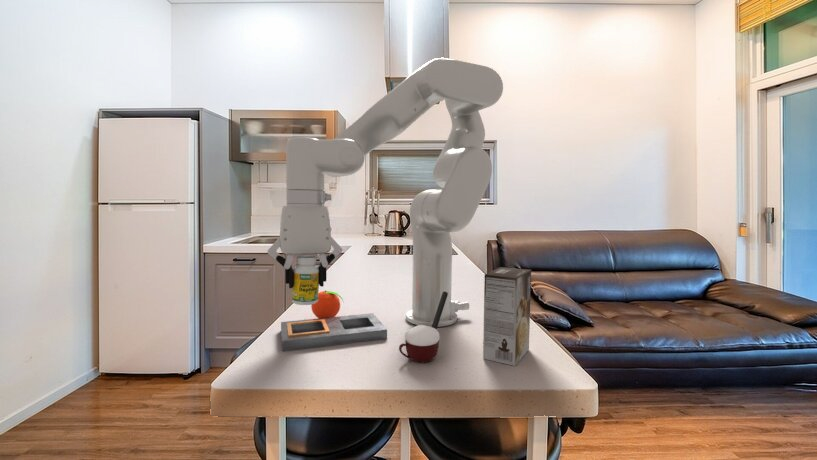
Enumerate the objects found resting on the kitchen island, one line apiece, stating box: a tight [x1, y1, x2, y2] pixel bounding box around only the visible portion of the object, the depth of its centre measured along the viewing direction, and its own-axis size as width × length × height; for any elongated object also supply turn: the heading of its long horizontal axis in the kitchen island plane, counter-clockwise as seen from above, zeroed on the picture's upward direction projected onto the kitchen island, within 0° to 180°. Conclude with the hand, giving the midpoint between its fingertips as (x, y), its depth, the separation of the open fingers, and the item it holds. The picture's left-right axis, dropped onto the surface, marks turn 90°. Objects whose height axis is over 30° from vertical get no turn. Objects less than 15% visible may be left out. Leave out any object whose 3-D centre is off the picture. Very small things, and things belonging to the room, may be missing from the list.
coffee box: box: [482, 266, 533, 367], centre depth 72 cm, size 9×6×16 cm
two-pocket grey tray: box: [280, 312, 388, 352], centre depth 82 cm, size 21×12×2 cm, turn 110°
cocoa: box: [398, 291, 448, 364], centre depth 70 cm, size 10×6×12 cm, turn 91°
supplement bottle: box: [291, 255, 320, 306], centre depth 79 cm, size 5×5×10 cm
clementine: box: [310, 290, 344, 319], centre depth 93 cm, size 8×7×7 cm
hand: (306, 285), depth 80 cm, fingers closed on supplement bottle, 5 cm apart
